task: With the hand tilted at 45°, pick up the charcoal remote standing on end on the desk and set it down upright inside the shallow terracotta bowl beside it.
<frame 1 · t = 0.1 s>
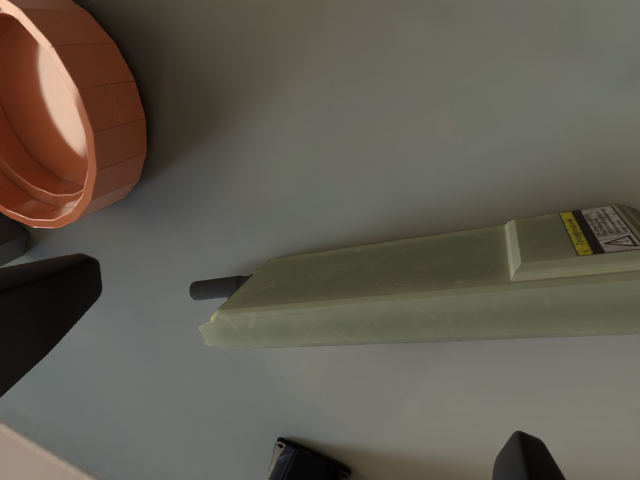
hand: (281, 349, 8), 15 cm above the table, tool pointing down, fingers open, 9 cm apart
remote: (0, 223, 34), on the table
handheld radio: (373, 257, 24), on the table
bowl: (67, 106, 26), on the table
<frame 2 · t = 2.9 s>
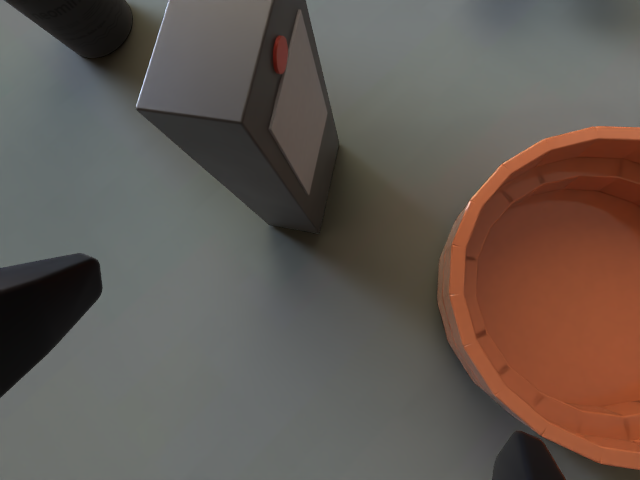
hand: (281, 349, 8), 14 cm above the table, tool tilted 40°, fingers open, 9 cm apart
remote: (304, 183, 23), on the table
drinking cup: (101, 28, 28), on the table
bowl: (574, 293, 20), on the table
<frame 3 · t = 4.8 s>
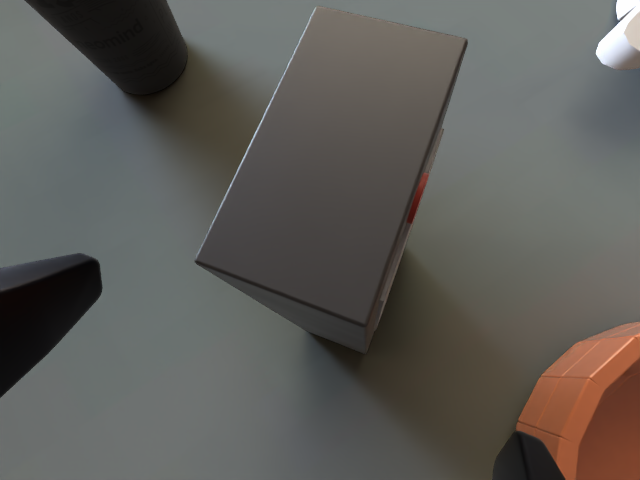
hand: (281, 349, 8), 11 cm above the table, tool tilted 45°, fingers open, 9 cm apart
remote: (355, 286, 19), on the table
drinking cup: (150, 63, 25), on the table
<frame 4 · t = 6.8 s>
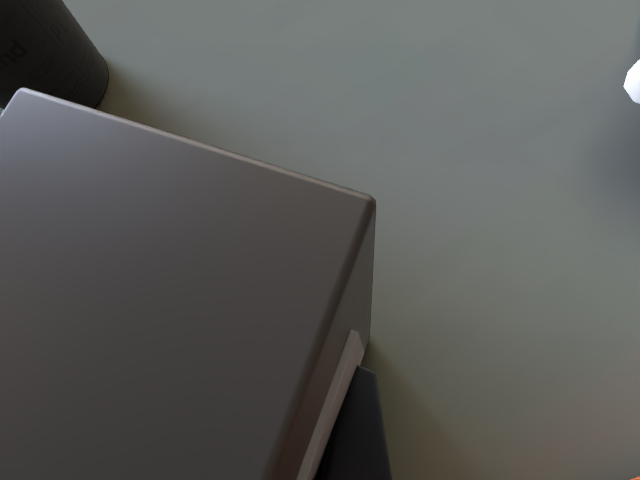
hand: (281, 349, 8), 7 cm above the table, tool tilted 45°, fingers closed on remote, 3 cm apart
remote: (304, 393, 15), on the table, touching gripper
drinking cup: (64, 88, 20), on the table
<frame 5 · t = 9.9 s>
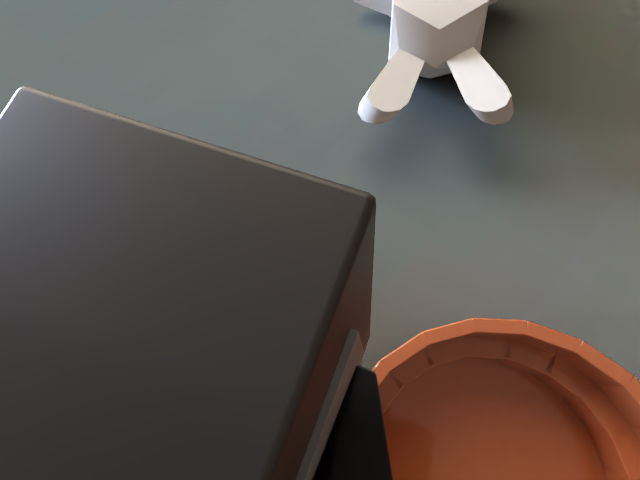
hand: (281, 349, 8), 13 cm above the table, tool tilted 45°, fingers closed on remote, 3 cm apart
bunny figurine: (426, 47, 26), on the table
remote: (304, 393, 15), point 6 cm above the table, touching gripper
bowl: (478, 474, 19), on the table
when the fingers open (8 cm above the table, at t = 13.2 s): remote stays where it is, resting on bowl.
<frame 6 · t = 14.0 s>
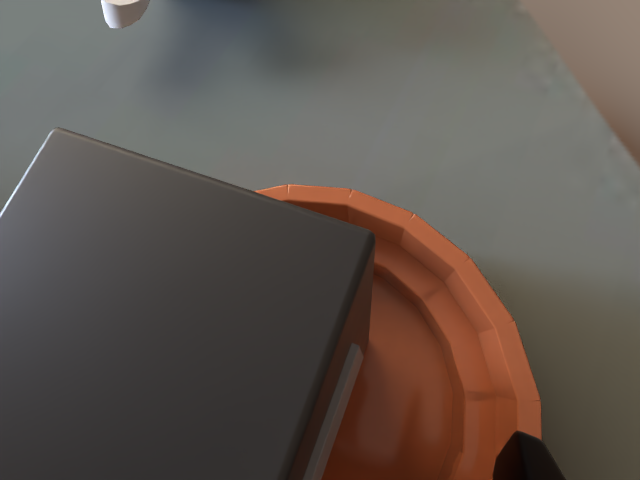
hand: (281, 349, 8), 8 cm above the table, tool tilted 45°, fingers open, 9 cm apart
remote: (305, 396, 15), point 1 cm above the table, touching bowl
bowl: (309, 394, 16), on the table
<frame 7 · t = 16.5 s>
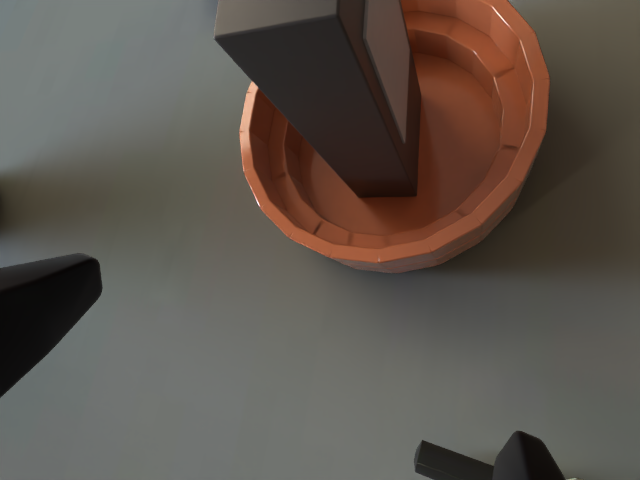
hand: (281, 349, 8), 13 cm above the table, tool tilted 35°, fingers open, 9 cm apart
remote: (389, 146, 21), point 1 cm above the table, touching bowl
bowl: (393, 149, 22), on the table
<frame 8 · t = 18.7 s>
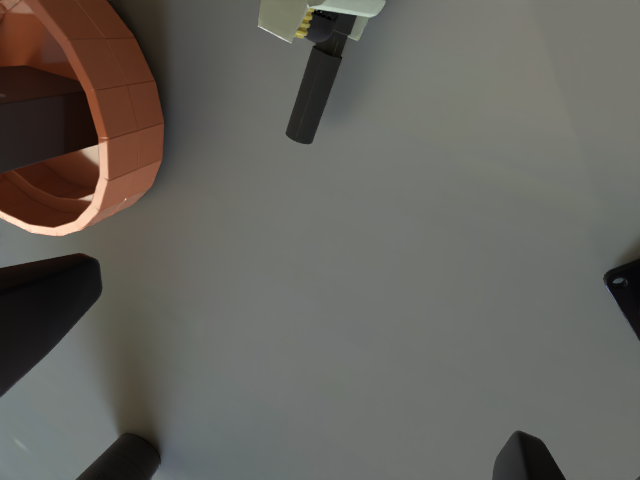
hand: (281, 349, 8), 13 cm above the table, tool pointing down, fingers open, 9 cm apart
remote: (67, 103, 23), point 1 cm above the table, touching bowl
drinking cup: (141, 450, 40), on the table
bowl: (74, 100, 24), on the table
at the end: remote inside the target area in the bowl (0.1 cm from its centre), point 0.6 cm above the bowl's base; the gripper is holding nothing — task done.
